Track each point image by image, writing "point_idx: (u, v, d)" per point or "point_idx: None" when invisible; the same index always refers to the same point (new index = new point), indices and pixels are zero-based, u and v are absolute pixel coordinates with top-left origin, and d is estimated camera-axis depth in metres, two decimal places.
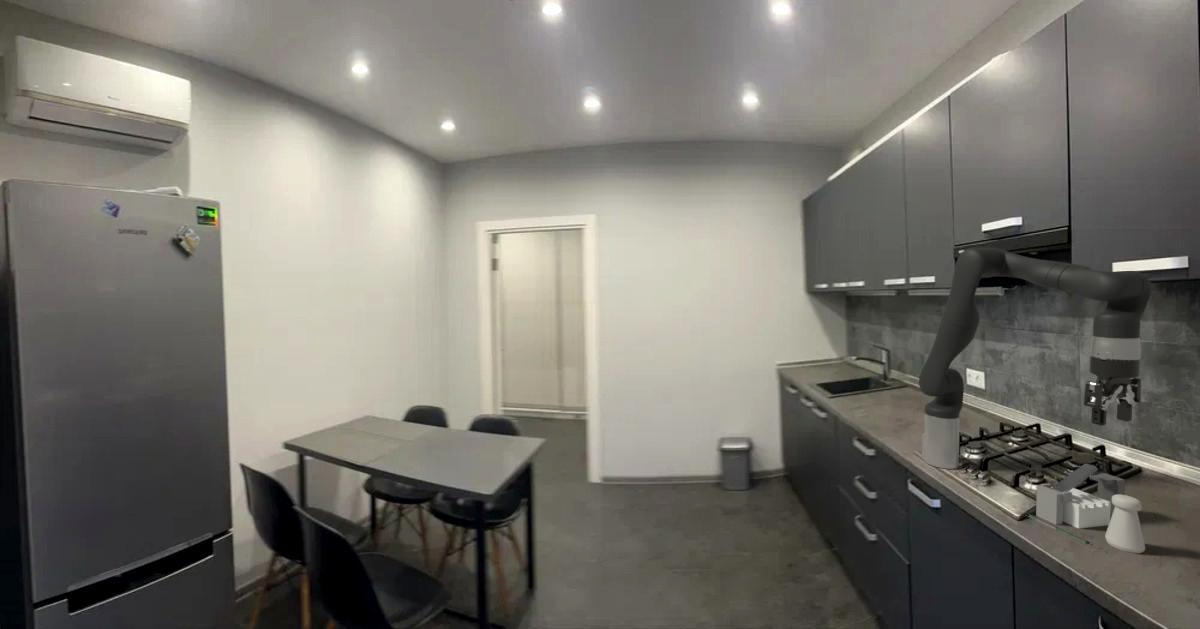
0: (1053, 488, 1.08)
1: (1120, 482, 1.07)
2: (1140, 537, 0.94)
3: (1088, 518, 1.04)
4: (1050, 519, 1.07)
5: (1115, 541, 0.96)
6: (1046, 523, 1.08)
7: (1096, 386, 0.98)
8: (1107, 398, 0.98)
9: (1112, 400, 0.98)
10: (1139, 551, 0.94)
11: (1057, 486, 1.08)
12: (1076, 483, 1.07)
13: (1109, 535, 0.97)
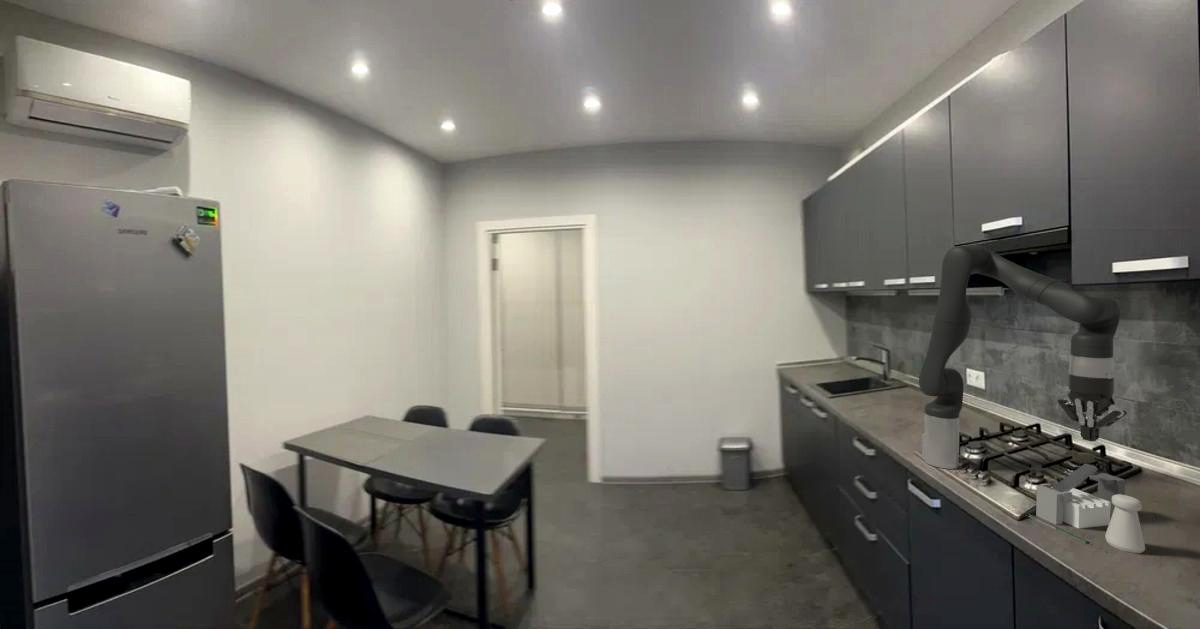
0: (1053, 488, 1.08)
1: (1120, 482, 1.07)
2: (1140, 537, 0.94)
3: (1088, 518, 1.04)
4: (1050, 519, 1.07)
5: (1115, 541, 0.96)
6: (1046, 523, 1.08)
7: (1123, 415, 1.02)
8: (1102, 416, 1.06)
9: None
10: (1139, 551, 0.94)
11: (1057, 486, 1.08)
12: (1076, 483, 1.07)
13: (1109, 535, 0.97)
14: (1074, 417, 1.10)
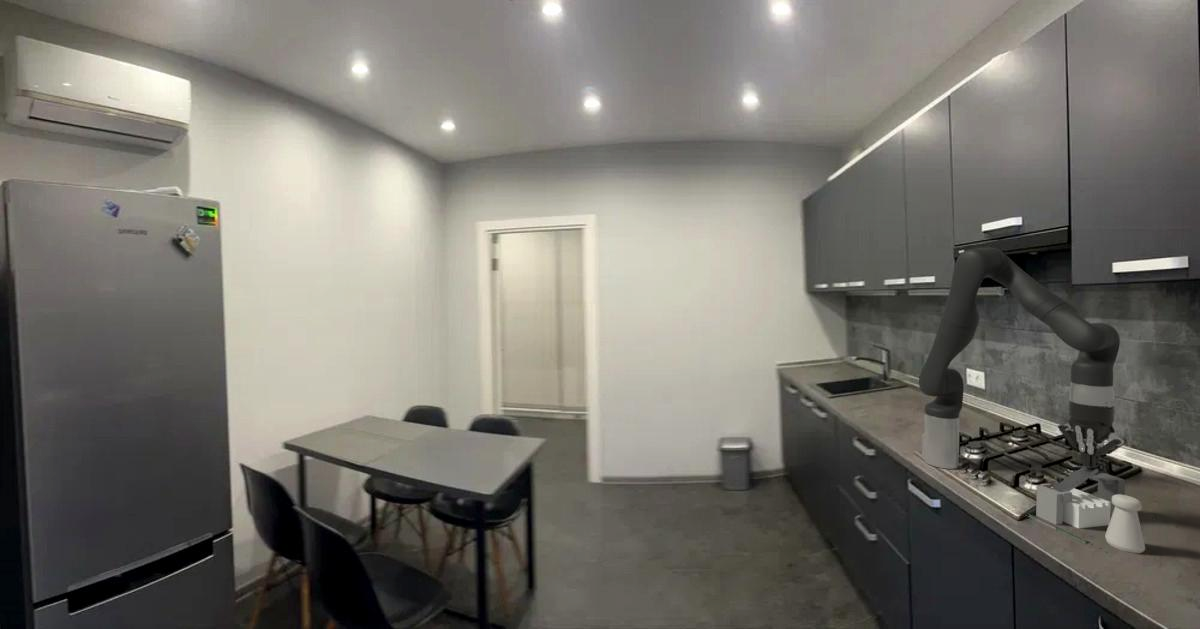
0: (1053, 488, 1.08)
1: (1120, 482, 1.07)
2: (1140, 537, 0.94)
3: (1088, 518, 1.04)
4: (1050, 519, 1.07)
5: (1115, 541, 0.96)
6: (1046, 523, 1.08)
7: (1123, 443, 1.02)
8: (1102, 444, 1.07)
9: None
10: (1139, 551, 0.94)
11: (1058, 487, 1.08)
12: (1076, 484, 1.07)
13: (1109, 535, 0.97)
14: (1074, 443, 1.10)
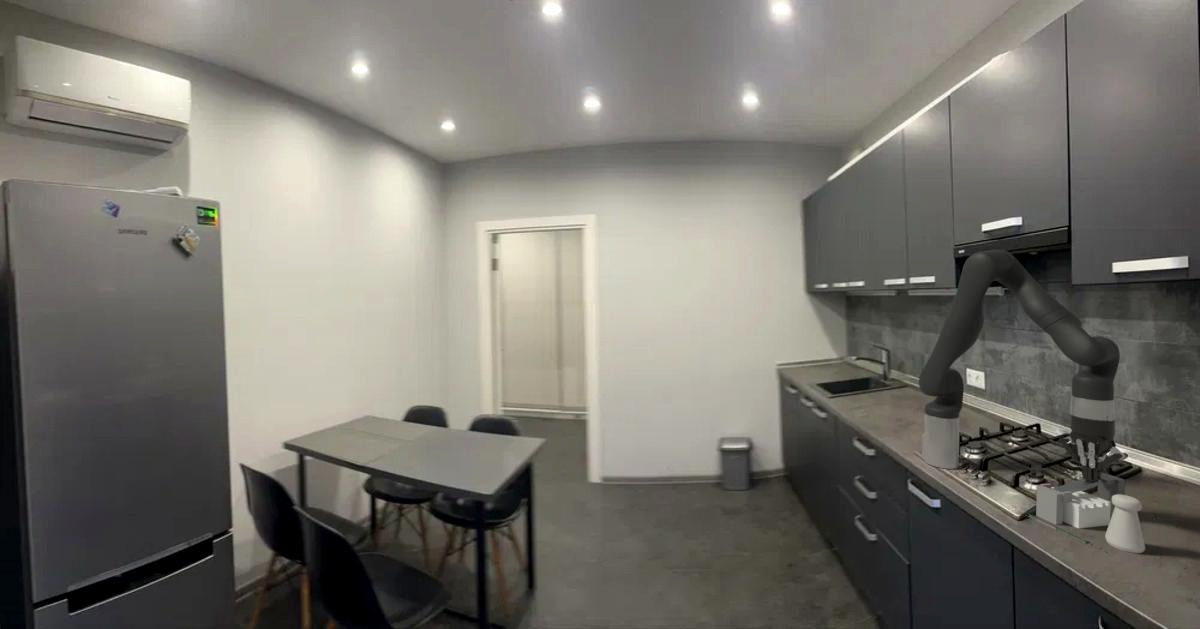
0: (1054, 488, 1.08)
1: (1120, 482, 1.07)
2: (1140, 537, 0.94)
3: (1088, 518, 1.04)
4: (1050, 519, 1.07)
5: (1115, 541, 0.96)
6: (1046, 523, 1.08)
7: (1124, 458, 1.02)
8: (1103, 457, 1.07)
9: None
10: (1139, 551, 0.94)
11: (1059, 488, 1.08)
12: (1078, 489, 1.07)
13: (1109, 535, 0.97)
14: (1076, 457, 1.10)
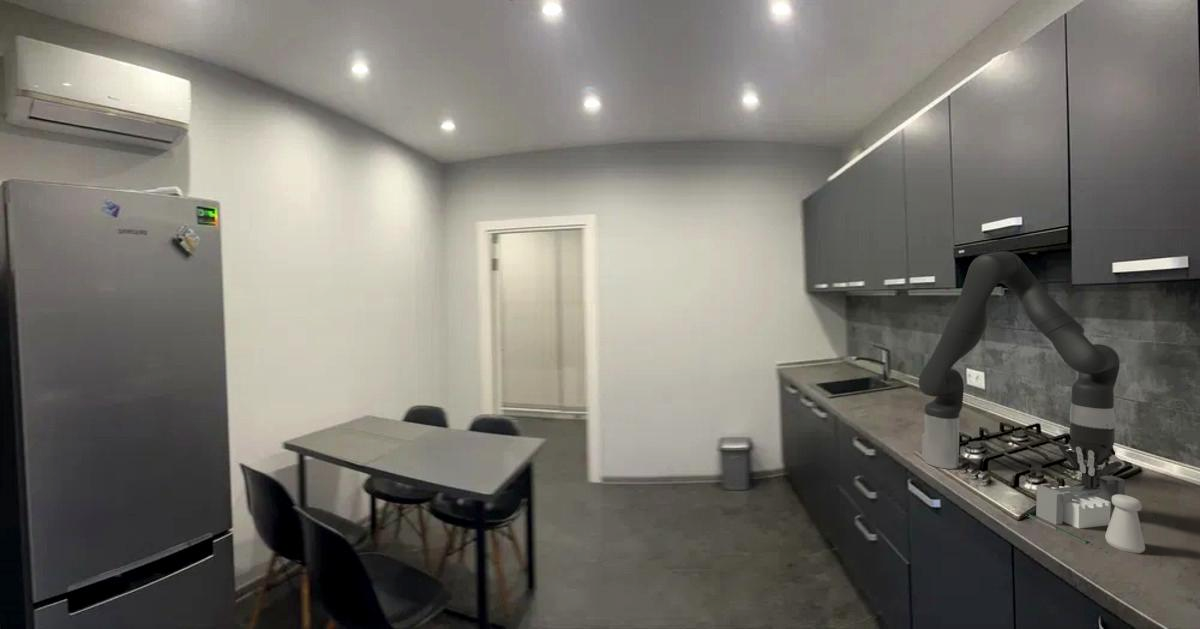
0: (1054, 489, 1.08)
1: (1120, 482, 1.07)
2: (1140, 537, 0.94)
3: (1088, 518, 1.04)
4: (1050, 519, 1.07)
5: (1115, 541, 0.96)
6: (1046, 523, 1.08)
7: (1124, 466, 1.02)
8: (1103, 465, 1.07)
9: None
10: (1139, 551, 0.94)
11: (1059, 489, 1.08)
12: (1078, 493, 1.07)
13: (1109, 535, 0.97)
14: (1075, 464, 1.11)
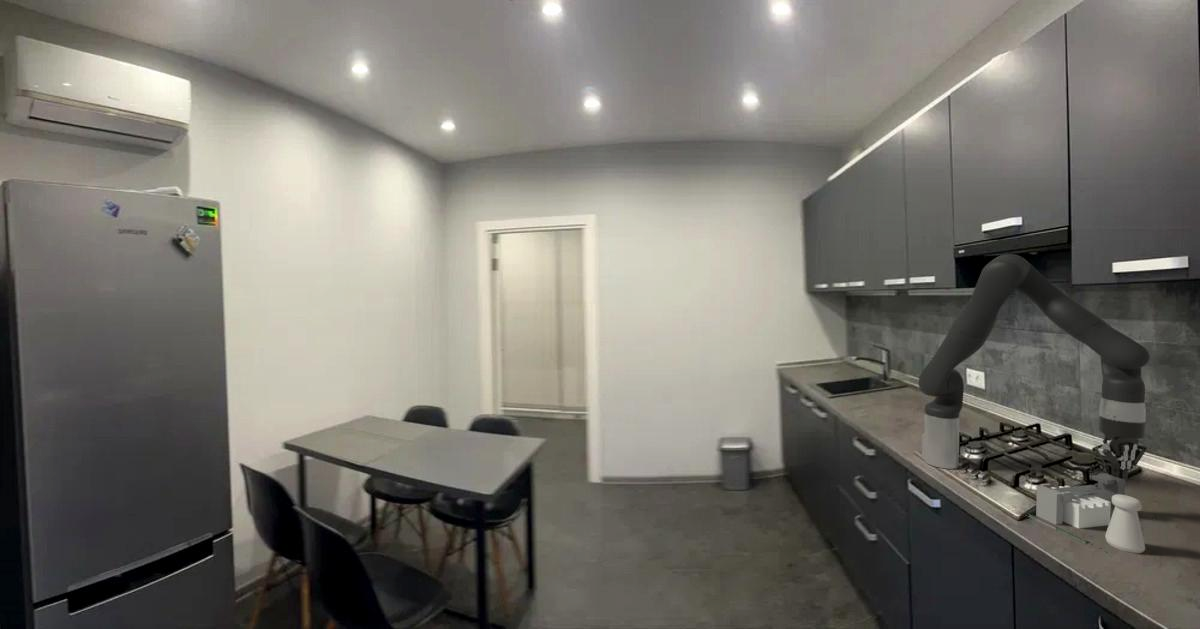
0: (1054, 489, 1.08)
1: (1120, 482, 1.07)
2: (1140, 537, 0.94)
3: (1088, 518, 1.04)
4: (1050, 519, 1.07)
5: (1115, 541, 0.96)
6: (1046, 523, 1.08)
7: None
8: None
9: None
10: (1139, 551, 0.94)
11: (1059, 489, 1.08)
12: (1078, 493, 1.07)
13: (1109, 535, 0.97)
14: (1118, 464, 1.08)
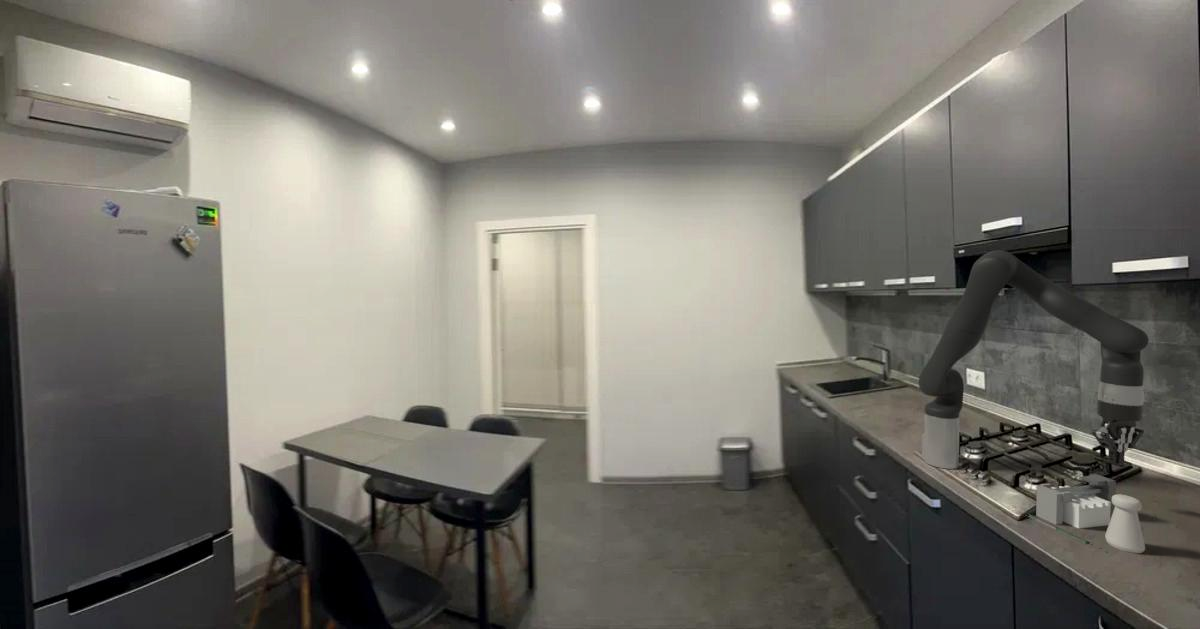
0: (1054, 489, 1.08)
1: (1111, 483, 1.07)
2: (1140, 537, 0.94)
3: (1088, 518, 1.04)
4: (1050, 519, 1.07)
5: (1115, 541, 0.96)
6: (1046, 523, 1.08)
7: None
8: None
9: None
10: (1139, 551, 0.94)
11: (1059, 489, 1.08)
12: (1078, 493, 1.07)
13: (1109, 535, 0.97)
14: (1115, 447, 1.09)
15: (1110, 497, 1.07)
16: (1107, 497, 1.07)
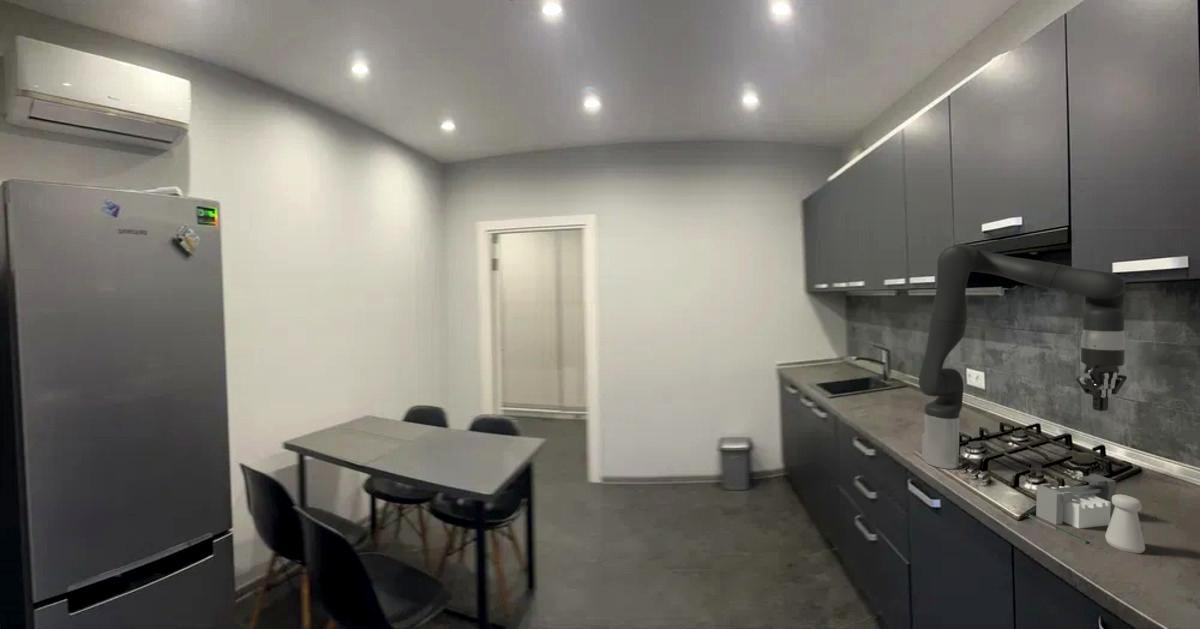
0: (1054, 489, 1.08)
1: (1111, 483, 1.07)
2: (1140, 537, 0.94)
3: (1088, 518, 1.04)
4: (1050, 519, 1.07)
5: (1115, 541, 0.96)
6: (1046, 523, 1.08)
7: None
8: None
9: None
10: (1139, 551, 0.94)
11: (1059, 489, 1.08)
12: (1078, 493, 1.07)
13: (1109, 535, 0.97)
14: (1098, 392, 1.12)
15: (1110, 497, 1.07)
16: (1107, 497, 1.07)
